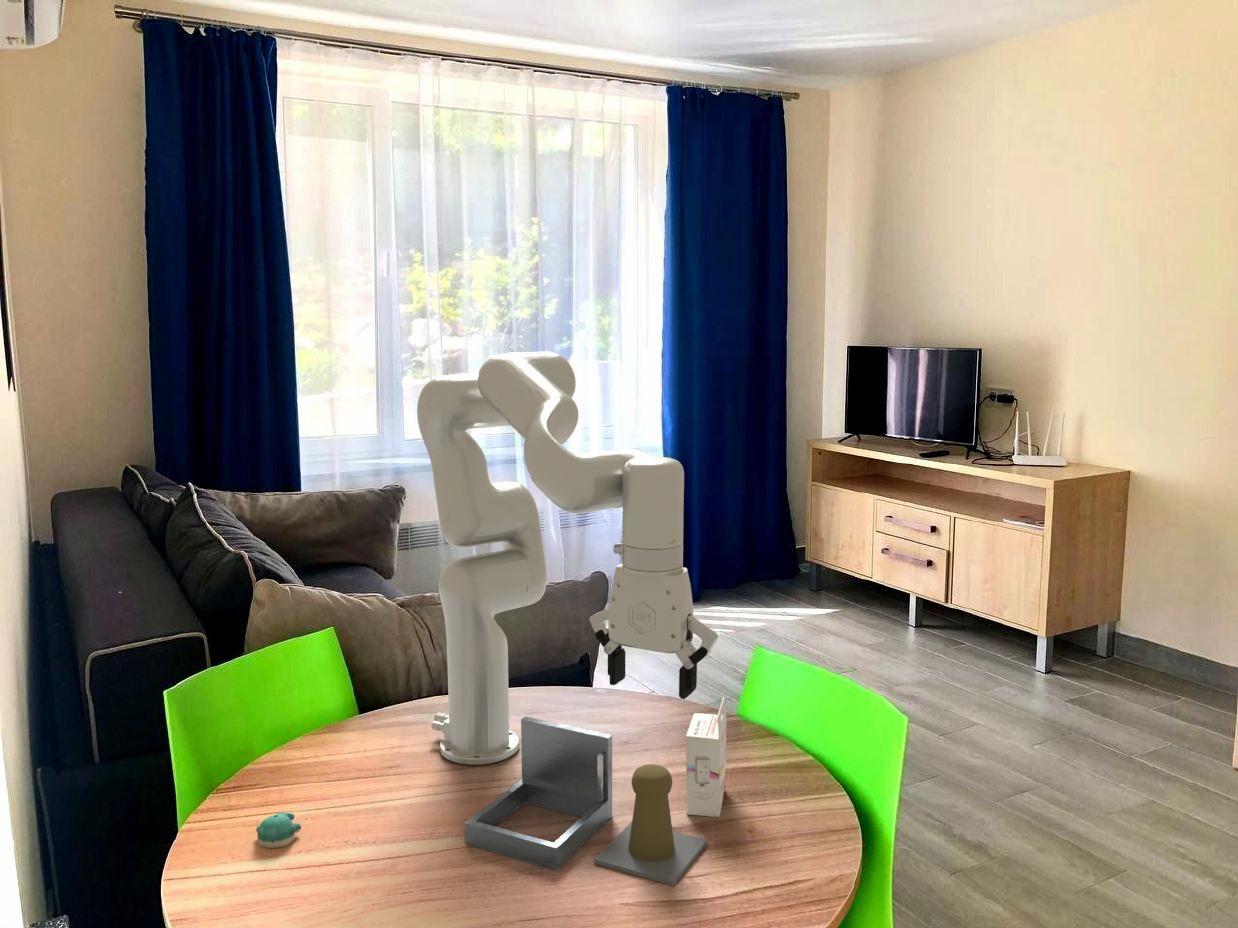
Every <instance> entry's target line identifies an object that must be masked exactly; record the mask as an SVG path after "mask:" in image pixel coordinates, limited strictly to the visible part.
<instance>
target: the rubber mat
mask: <svg viewBox="0 0 1238 928" xmlns="http://www.w3.org/2000/svg"><path fill="white" fill-rule="evenodd" d="M631 826H632V821H630V823H629V824H627V826H626V827H624V829H623V830H622V831H621V832H620V833H618V835H617V836H616V837H615V838H614V839H613V840H612V841H611V842H610V843H609V844H608V845H607V846H606V847H604V849H603V850H602V851H601V852H600V853H599V854H598V855H597V856H596V857H595V858H594V864H595V865H597V866H600V867H604V868H608V869H611V870H615V871H619V872H622V873H625V874H629V875H633V876H636V877H640V878H643V879H646V880H651V881H654V882H657V883H658V882H659V883H662V884H666V885H668V886H673V887H674V886H675V885H676V884H677V883H678V881H679V880H680V879H681V878H682V877H683V875H684V874H685V873H686V871H687V870H688V868H690V866H691V865H692V864H693V863H694V862H695V860H696V859H697V858H698V857H699V855H700V854H701V853H702V851H703V850H704V849H705V848H706V846H707V845H708V839H706V838H702V837H698V836H695V835H691V834H686V833H683V832H679V831H674V830H672V831H673V838H674V846H675V851H674V853H673V855H672V856H671V857H669V858H667V859H665V860H661V861H653V862H652V861H643V860H640V859H637V858H635V857H633V856H632V855H631V854H630V853H629V850H628V847H629V840H630V833H631Z"/></svg>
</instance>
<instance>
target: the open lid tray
mask: <svg viewBox="0 0 1238 928" xmlns="http://www.w3.org/2000/svg"><path fill="white" fill-rule="evenodd" d="M520 739H521V740H520V741H521V746H520V747H521V779H519V781H517V782H516V783H514V784H513V785H512V786H511V787H509V788H508V789H506V791H504V792H503V793H501V794H500V795H499V796H498V797H496V798H495V799H493V800H492V801H491V802H490V803H488V804H487V805H485V807H483V808H482V809H481V810H479V811H478V812H477V813H475V814H474V815H473V816H471V817H470V818H468V819H467V820H466V821H465V822H464V844H465V845H467V846H468V845H469V846H471V847H474V848H478V849H482V850H485V851H489V852H492V853H496V854H499V855H503V856H505V857H509V858H513V859H516V860H518V861H523V862H526V863H529V864H533V865H536V866H540V867H543V868H547V869H551V870H553V871H558V870H559V869H560V868H561V867H562V866H563V865H564V864H565V863H566V862H567V861H568V860H569V859H571V857H573V856H574V855H575V853H576V852H577V851H579V850H580V849H581V848H582V846H584V845H585V844H586V843H588V841H590V839H591V838H592V837H593V836H594V835H595V834H596V833H597V832H598V831H599V830H600V829H602V827H603V826H604V825H606V823H608V821H610V820H611V818H612V817H613V734H609V733H606V732H605V733H604V732H599V731H596V730H592V729H585V728H581V727H576V726H571V725H568V724H563V723H558V722H553V721H548V720H545V719H539V718H535V717H530V716H524V717H523V718H521V719H520ZM524 804H526V805H531V806H535V807H538V808H542V809H546V810H550V811H554V812H558V813H562V814H566V815H569V816H574V817H577V818H579V819H578V820H576V821H575V823H573V824H572V825H571V826H570V827H569V828H568V829H566V831H565V832H563V833H562V835H560V837H559V836H558V838H557V839H555V841H554V842H553V841H551V840H550V841H549V840H545V839H542V838H538V837H534V836H531V835H528V834H525V833H519V832H517V831H514V830H513V831H512V830H509V829H506V828H503V827H499V826H498V825H499V824H500V823H502V822H503V821H504V820H505V819H507V818H508V817H509V816H510V815H511V814H512V813H514V812H515V811H517V810H518V809H519V808H520V807H521V806H523V805H524Z"/></svg>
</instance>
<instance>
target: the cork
mask: <svg viewBox="0 0 1238 928" xmlns="http://www.w3.org/2000/svg"><path fill="white" fill-rule="evenodd" d="M631 787H632V790H633V792H634V793H635V798H634V806H633V812H632V818H631V819H632V820H631V822H632V826H631V833H630V840H629V847H628V850H629V853H630V854H631V855H632V856H633V857H635V858H637V859H640V860H643V861H652V862H653V861H661V860H665V859H667V858H669V857H671V856H672V855H673V853H674V851H675V846H674V838H673V831H674V830H673V824H672V815H671V809H670V801H669V794H670V793H671V790H672V787H673V778H672V774H671V773H670V771H669V770H668V769H667V768H666V767H664V766H662V765H660V764H652V763H651V764H643V765H641V766H639V767H637V768H636V769H635V771H633V773H632V777H631Z"/></svg>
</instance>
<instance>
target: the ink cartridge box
mask: <svg viewBox="0 0 1238 928" xmlns="http://www.w3.org/2000/svg"><path fill="white" fill-rule="evenodd" d="M717 713H718V714H712V713H701V712H700V713H699V712H694V713H693V715H692V717H691V718H692V719H691V721H690V723H689V727H688V729H687V732H686V735H685V743H686V744H685V745H686V750H685V751H686V752H685V753H686V754H685V755H686V758H685V759H686V760H685V761H686V766H685V767H686V815H691V816H702V817H703V816H705V817H713V818H719V817H720V816H721V812H722V805H723V803H724V802H723V800H724V794H725V790H726V759H727V753H726V752H727V707H726V698H725V696H723V697H722V701H721V703H720V706H719V710H718V712H717Z"/></svg>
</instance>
